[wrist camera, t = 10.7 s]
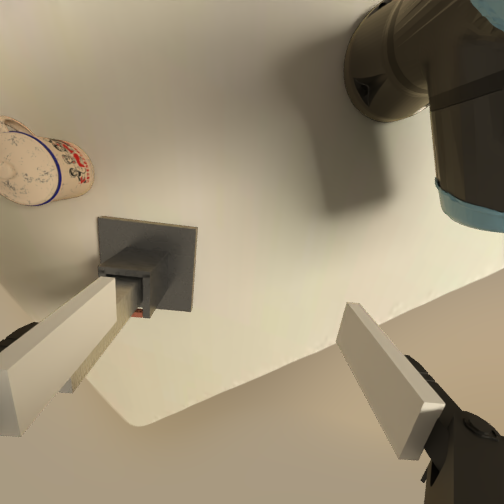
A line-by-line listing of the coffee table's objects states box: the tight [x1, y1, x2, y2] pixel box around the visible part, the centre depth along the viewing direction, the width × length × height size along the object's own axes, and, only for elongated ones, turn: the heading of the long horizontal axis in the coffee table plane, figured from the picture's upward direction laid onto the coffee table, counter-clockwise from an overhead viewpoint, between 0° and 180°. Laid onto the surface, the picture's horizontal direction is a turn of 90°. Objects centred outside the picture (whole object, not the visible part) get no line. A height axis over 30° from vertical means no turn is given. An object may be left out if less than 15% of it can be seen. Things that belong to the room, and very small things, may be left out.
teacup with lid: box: [0, 116, 94, 206], centre depth 34 cm, size 12×9×12 cm
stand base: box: [98, 216, 198, 318], centre depth 41 cm, size 16×16×10 cm
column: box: [59, 275, 143, 393], centre depth 30 cm, size 5×4×18 cm
